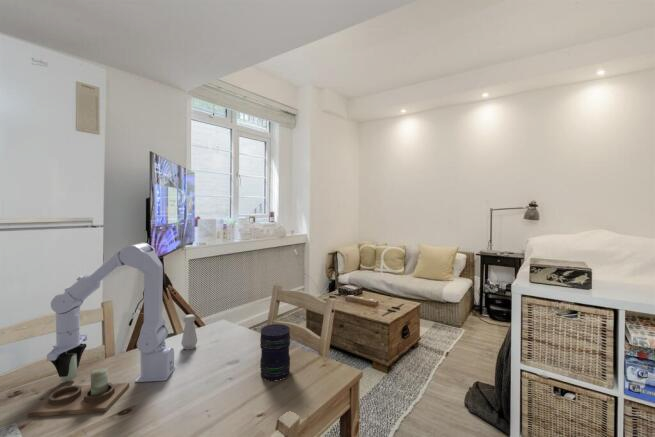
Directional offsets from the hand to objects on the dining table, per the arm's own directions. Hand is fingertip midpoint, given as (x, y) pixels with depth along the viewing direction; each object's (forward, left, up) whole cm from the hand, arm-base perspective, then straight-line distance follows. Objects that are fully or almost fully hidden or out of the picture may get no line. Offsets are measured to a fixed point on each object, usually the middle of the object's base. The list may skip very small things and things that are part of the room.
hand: (68, 372), depth 96 cm
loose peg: (0, 0, -2) cm, 2 cm away
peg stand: (-11, +11, -3) cm, 16 cm away
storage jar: (-65, +2, -3) cm, 65 cm away
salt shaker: (-30, -21, -3) cm, 37 cm away
